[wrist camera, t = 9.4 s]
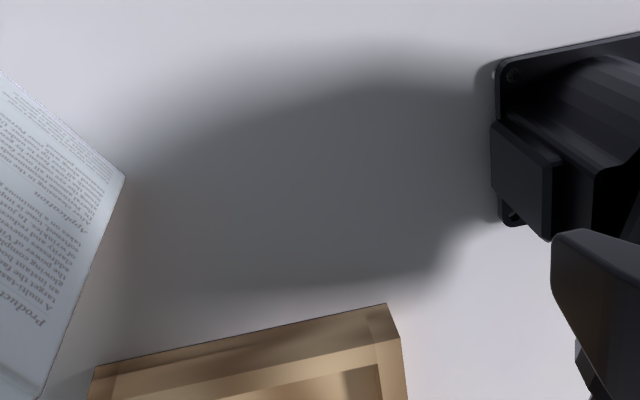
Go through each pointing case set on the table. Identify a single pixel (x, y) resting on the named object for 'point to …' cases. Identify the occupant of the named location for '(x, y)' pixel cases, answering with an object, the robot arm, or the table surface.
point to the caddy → (271, 365)
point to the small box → (44, 234)
